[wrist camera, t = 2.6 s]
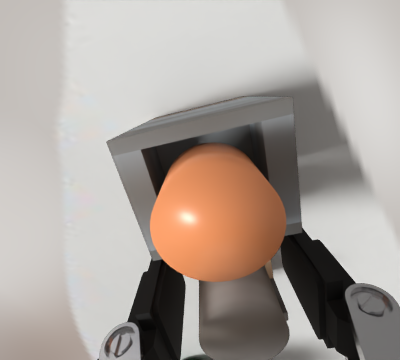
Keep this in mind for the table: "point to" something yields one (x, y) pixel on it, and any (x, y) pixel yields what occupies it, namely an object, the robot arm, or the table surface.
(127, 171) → the stand
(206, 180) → the button
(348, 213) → the table surface
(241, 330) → the carriage
